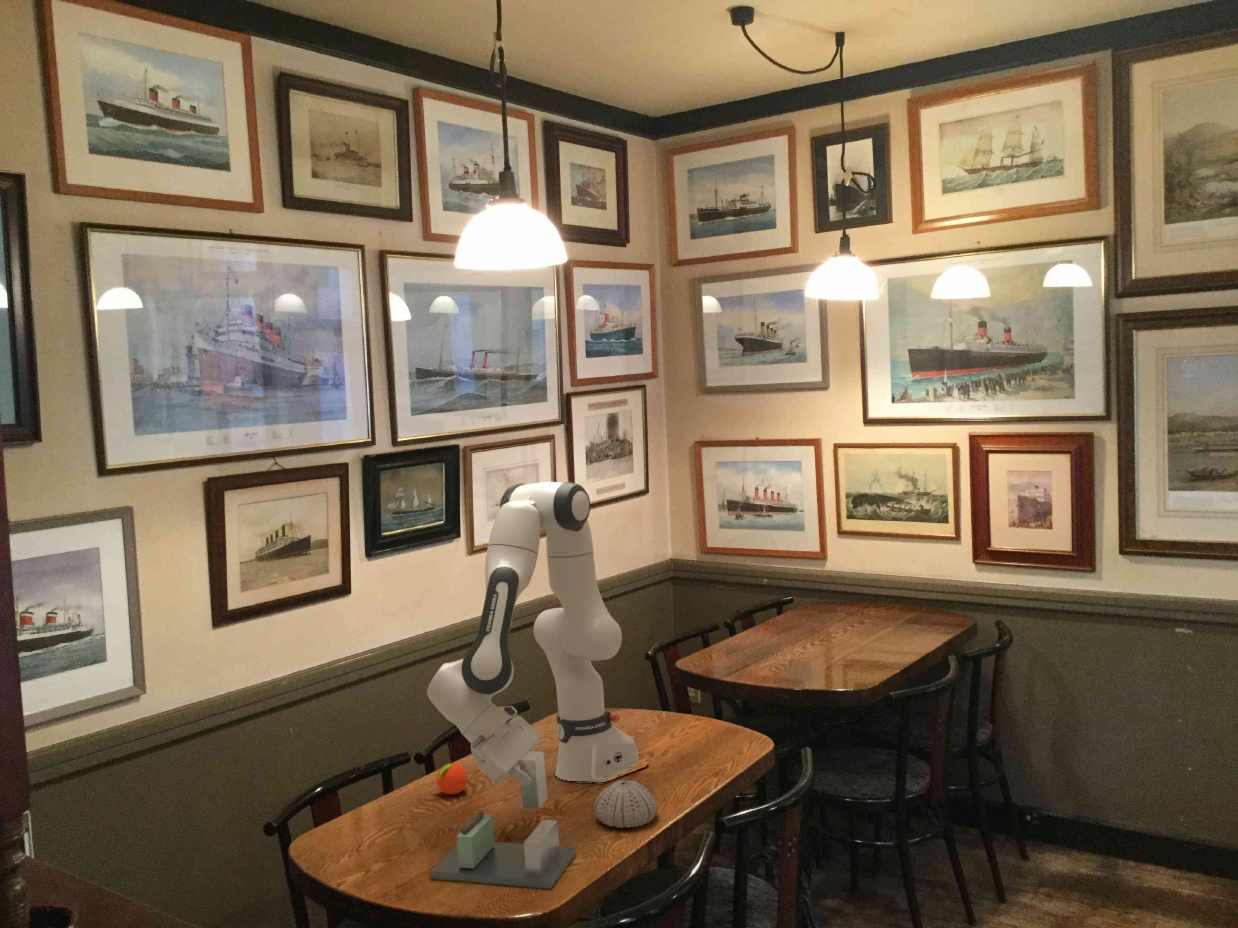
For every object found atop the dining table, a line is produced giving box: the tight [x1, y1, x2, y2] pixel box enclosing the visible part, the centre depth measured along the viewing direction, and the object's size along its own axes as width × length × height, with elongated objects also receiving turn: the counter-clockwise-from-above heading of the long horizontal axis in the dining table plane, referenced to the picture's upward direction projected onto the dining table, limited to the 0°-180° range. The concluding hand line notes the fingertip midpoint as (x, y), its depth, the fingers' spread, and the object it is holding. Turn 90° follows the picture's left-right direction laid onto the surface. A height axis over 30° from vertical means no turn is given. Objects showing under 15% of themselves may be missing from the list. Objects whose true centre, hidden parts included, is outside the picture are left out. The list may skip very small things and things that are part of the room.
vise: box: [429, 819, 576, 890], centre depth 191 cm, size 24×14×8 cm, turn 74°
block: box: [518, 750, 548, 809], centre depth 206 cm, size 4×5×10 cm
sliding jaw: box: [456, 810, 496, 869], centre depth 193 cm, size 3×10×7 cm, turn 164°
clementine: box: [436, 762, 468, 795], centre depth 230 cm, size 8×7×7 cm
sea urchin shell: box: [592, 779, 658, 829], centre depth 210 cm, size 13×14×8 cm
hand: (536, 776), depth 206 cm, fingers closed on block, 5 cm apart
